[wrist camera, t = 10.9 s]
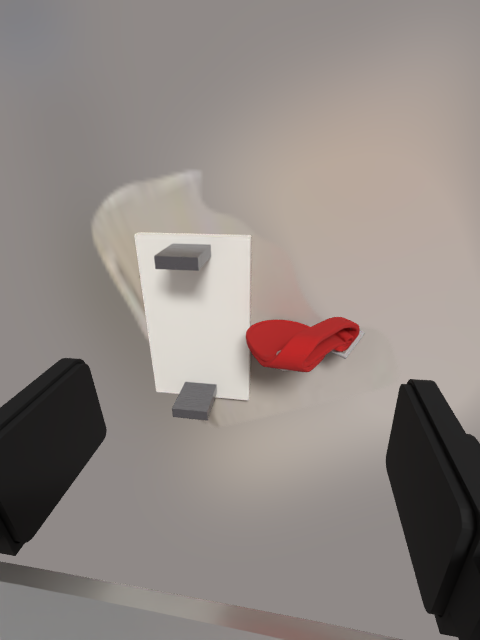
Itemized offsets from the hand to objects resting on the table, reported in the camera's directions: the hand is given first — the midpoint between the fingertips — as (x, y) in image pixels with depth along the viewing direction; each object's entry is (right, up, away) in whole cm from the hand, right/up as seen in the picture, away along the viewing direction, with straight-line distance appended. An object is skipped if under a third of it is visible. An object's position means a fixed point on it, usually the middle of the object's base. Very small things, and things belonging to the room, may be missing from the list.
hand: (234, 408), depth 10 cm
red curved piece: (+8, +3, +27) cm, 28 cm away
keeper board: (-5, +3, +28) cm, 29 cm away
